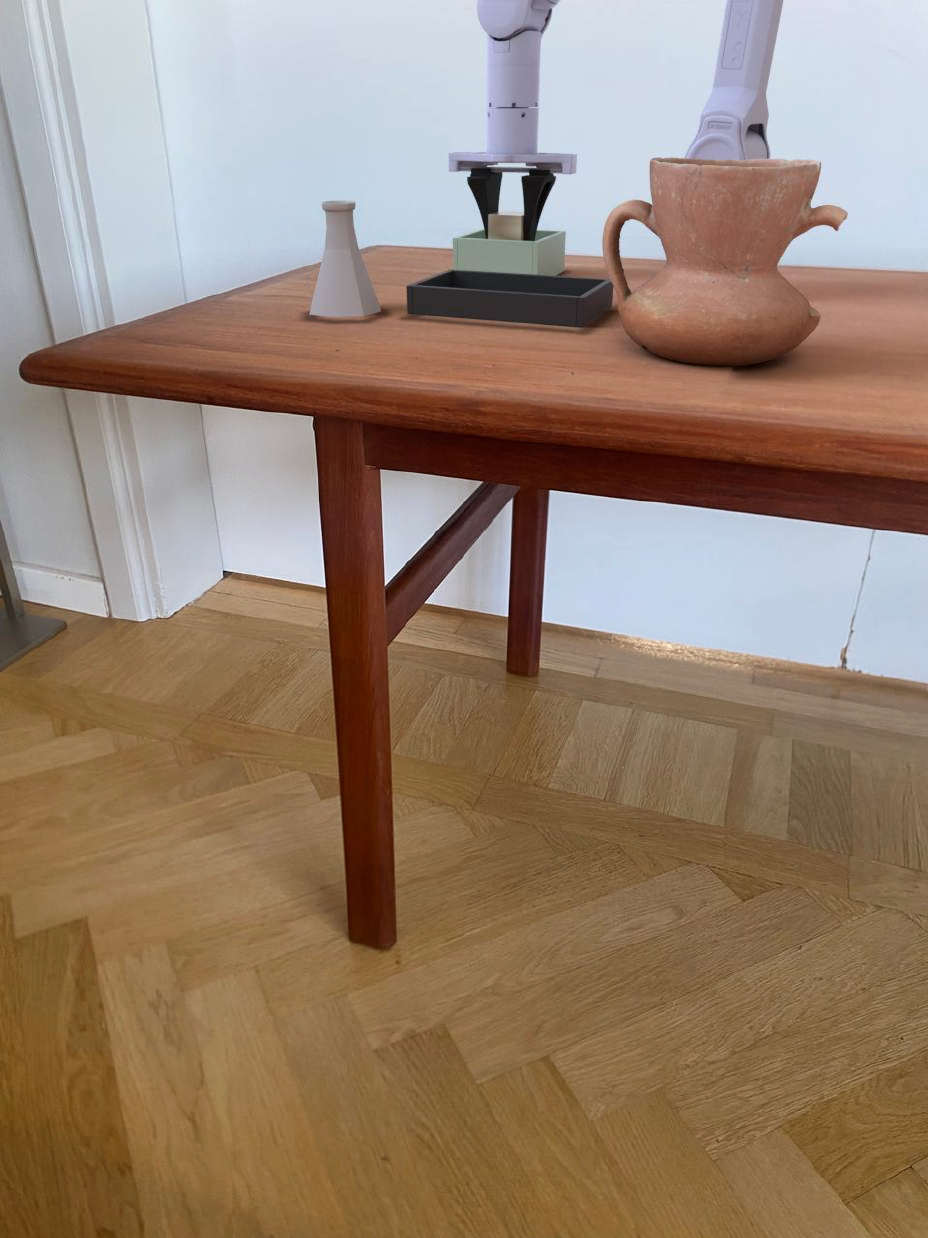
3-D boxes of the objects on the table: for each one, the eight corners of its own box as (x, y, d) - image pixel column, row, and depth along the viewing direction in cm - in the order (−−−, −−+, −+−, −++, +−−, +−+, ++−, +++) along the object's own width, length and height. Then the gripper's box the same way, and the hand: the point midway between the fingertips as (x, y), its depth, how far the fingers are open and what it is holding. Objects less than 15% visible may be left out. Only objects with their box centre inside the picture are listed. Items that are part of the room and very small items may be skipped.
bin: (564, 271, 111) (565, 230, 109) (536, 285, 103) (538, 241, 101) (485, 266, 115) (485, 227, 113) (452, 279, 107) (452, 237, 104)
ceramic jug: (835, 347, 76) (870, 155, 70) (802, 390, 65) (840, 167, 58) (626, 327, 84) (640, 151, 77) (565, 362, 73) (574, 161, 66)
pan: (611, 311, 90) (614, 279, 89) (582, 332, 82) (584, 297, 81) (449, 299, 96) (449, 269, 95) (407, 318, 88) (406, 285, 86)
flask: (371, 323, 86) (365, 206, 81) (297, 320, 87) (286, 205, 82) (391, 308, 92) (387, 198, 87) (322, 306, 93) (314, 197, 88)
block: (532, 248, 109) (533, 211, 107) (520, 253, 105) (521, 215, 103) (500, 247, 110) (500, 210, 108) (487, 251, 107) (488, 214, 105)
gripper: (436, 108, 100) (438, 243, 106) (565, 108, 95) (559, 249, 102) (461, 107, 105) (462, 235, 112) (584, 107, 101) (578, 241, 107)
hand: (510, 241), depth 107 cm, fingers closed on block, 4 cm apart
